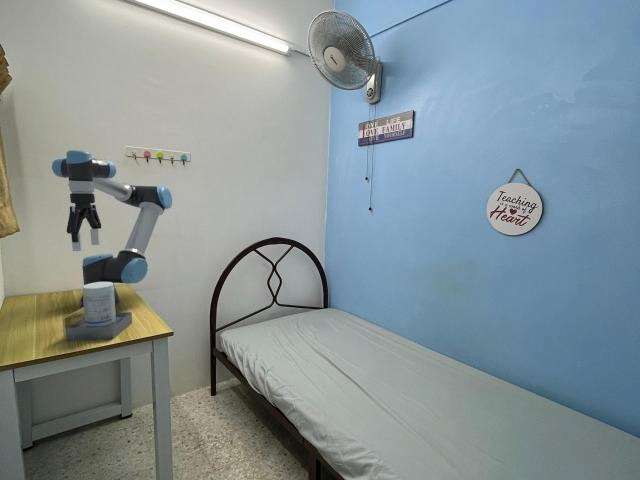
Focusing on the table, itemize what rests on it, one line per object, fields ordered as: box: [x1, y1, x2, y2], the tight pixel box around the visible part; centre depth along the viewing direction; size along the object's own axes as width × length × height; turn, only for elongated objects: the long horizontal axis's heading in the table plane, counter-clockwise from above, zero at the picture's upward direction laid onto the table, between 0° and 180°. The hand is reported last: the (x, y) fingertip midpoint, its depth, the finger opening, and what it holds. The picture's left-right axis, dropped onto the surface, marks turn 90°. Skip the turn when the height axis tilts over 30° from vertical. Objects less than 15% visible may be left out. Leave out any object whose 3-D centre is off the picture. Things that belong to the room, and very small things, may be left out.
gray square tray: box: [62, 307, 133, 342], centre depth 118 cm, size 15×16×8 cm
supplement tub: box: [82, 282, 117, 327], centre depth 117 cm, size 10×10×15 cm
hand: (87, 247), depth 124 cm, fingers open, 13 cm apart
